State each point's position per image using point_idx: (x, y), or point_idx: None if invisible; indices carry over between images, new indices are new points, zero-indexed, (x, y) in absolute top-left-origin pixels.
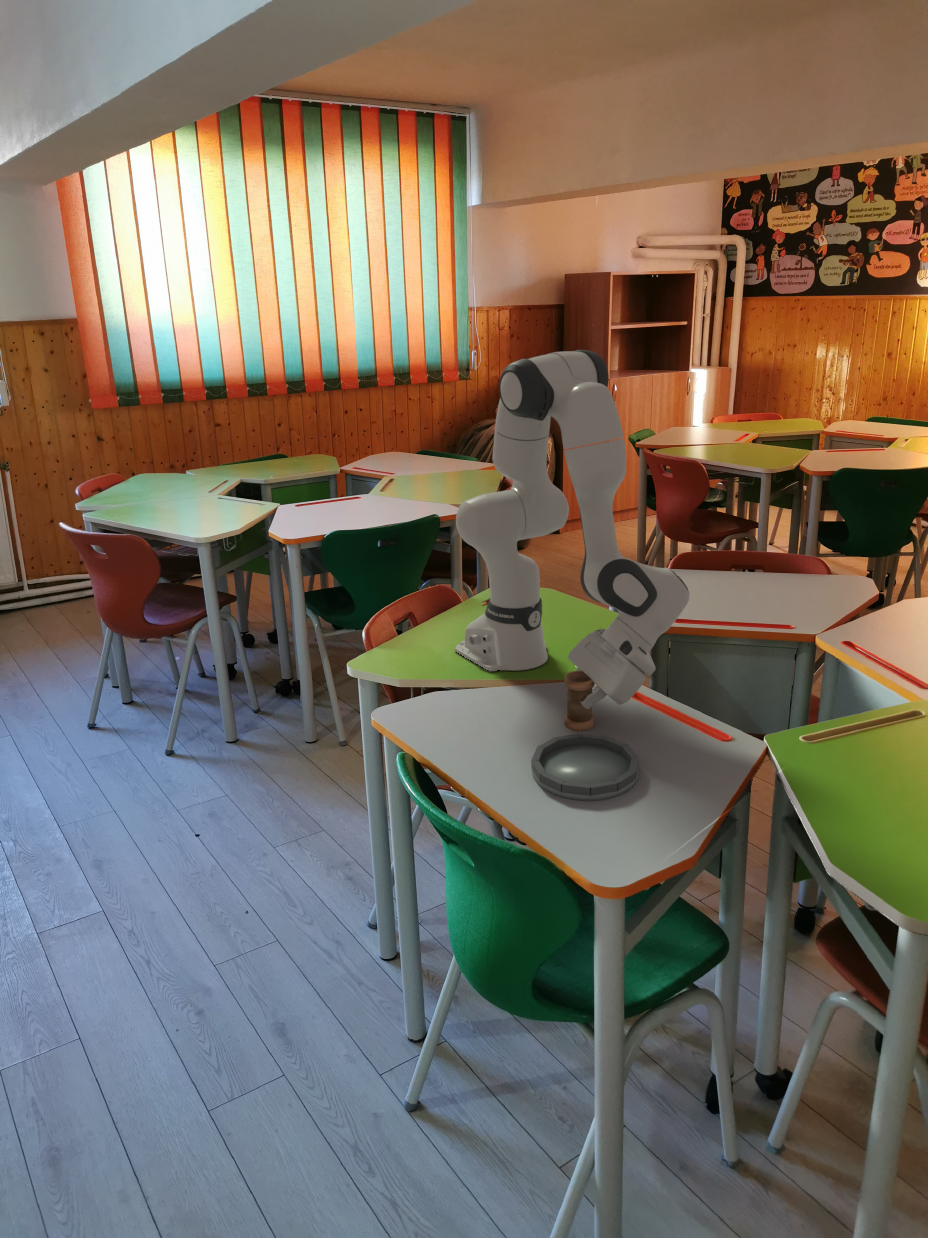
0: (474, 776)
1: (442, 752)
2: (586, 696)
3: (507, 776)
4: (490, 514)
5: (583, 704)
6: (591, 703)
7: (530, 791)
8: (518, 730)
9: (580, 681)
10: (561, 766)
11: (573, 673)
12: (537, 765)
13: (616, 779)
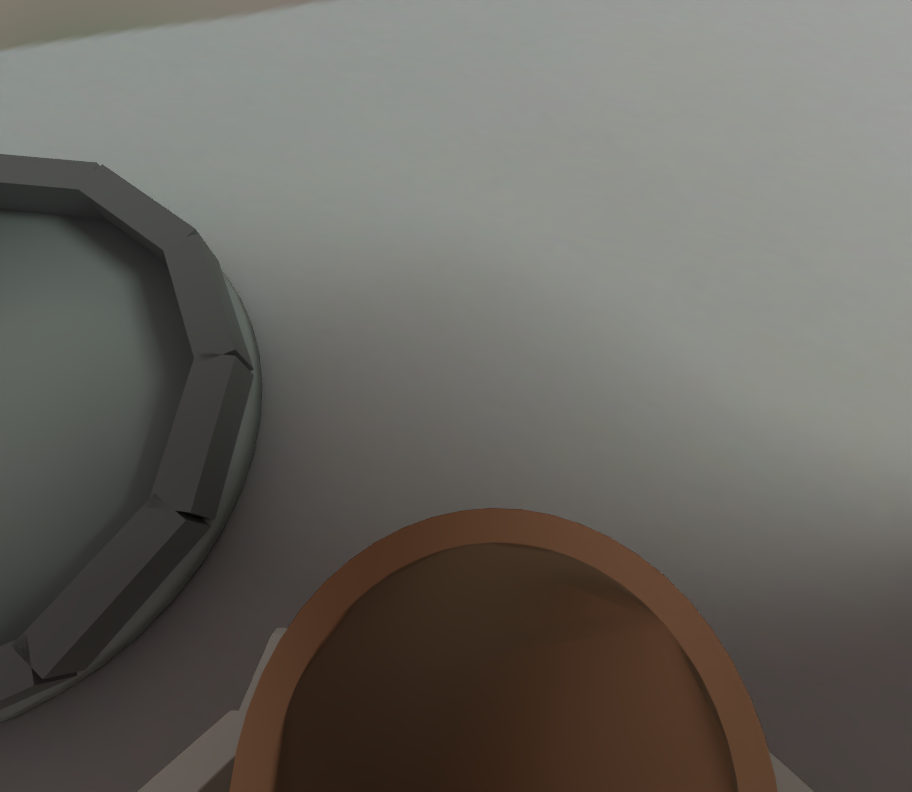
0: (260, 51)
1: (481, 14)
2: None
3: (188, 137)
4: None
5: (273, 636)
6: None
7: None
8: (544, 307)
9: (328, 698)
10: (44, 311)
11: (679, 740)
12: (38, 168)
13: None
